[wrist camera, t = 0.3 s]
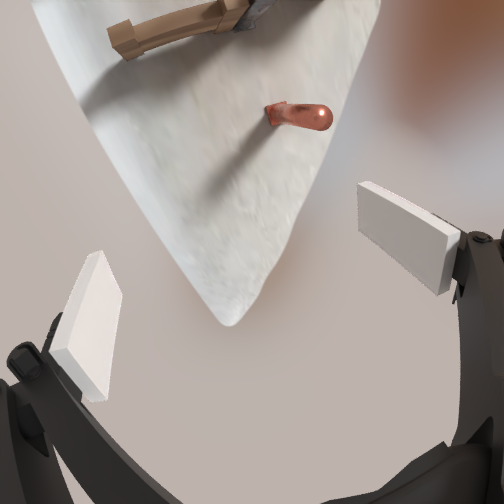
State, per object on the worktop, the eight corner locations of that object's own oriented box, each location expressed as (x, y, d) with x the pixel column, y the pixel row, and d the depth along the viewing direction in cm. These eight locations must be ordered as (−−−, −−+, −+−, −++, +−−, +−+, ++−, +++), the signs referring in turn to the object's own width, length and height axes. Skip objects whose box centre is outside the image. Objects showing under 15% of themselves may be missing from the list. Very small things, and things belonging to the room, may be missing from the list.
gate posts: (228, 14, 30) (252, -22, 18) (255, 9, 30) (290, -26, 19) (264, 127, 38) (302, 137, 27) (290, 120, 38) (336, 128, 27)
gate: (124, 49, 29) (106, 28, 19) (225, 16, 30) (243, -13, 20) (129, 63, 30) (112, 47, 20) (230, 30, 31) (250, 5, 21)
